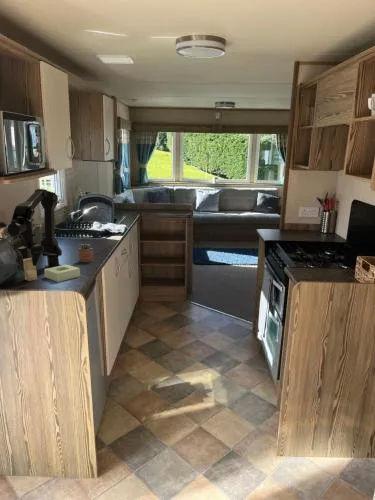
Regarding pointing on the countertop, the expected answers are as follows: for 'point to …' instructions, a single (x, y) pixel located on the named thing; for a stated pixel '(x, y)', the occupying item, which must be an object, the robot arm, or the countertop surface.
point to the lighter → (85, 253)
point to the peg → (29, 270)
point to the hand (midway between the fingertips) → (29, 264)
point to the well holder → (62, 272)
